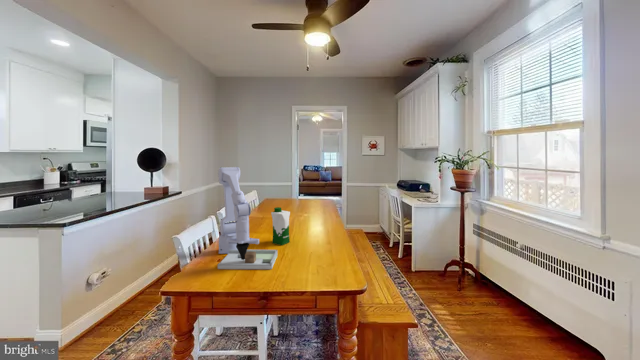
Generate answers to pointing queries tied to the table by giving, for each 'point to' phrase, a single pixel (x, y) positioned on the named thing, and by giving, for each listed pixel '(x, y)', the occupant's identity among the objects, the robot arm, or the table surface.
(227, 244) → the robot arm
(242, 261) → the tray
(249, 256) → the walnut block
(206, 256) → the table surface
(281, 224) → the milk carton
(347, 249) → the table surface
